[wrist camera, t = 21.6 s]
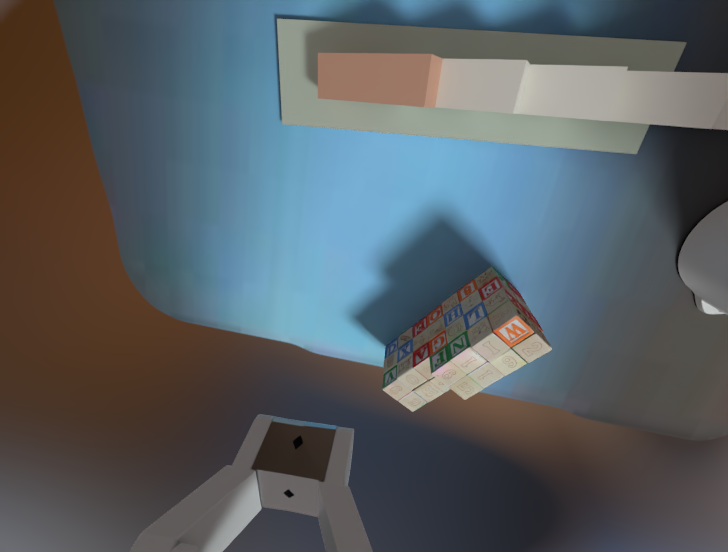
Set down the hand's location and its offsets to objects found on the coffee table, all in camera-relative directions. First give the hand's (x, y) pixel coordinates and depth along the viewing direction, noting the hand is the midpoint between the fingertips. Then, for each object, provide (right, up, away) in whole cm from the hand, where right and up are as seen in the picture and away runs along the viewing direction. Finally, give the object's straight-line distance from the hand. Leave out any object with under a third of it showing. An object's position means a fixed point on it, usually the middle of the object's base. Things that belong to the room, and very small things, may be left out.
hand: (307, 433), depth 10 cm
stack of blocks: (+15, -2, +40) cm, 42 cm away
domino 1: (-2, +26, +24) cm, 36 cm away
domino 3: (+13, +24, +23) cm, 36 cm away
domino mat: (+12, +25, +25) cm, 37 cm away
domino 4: (+22, +23, +22) cm, 39 cm away
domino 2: (+5, +25, +24) cm, 35 cm away
